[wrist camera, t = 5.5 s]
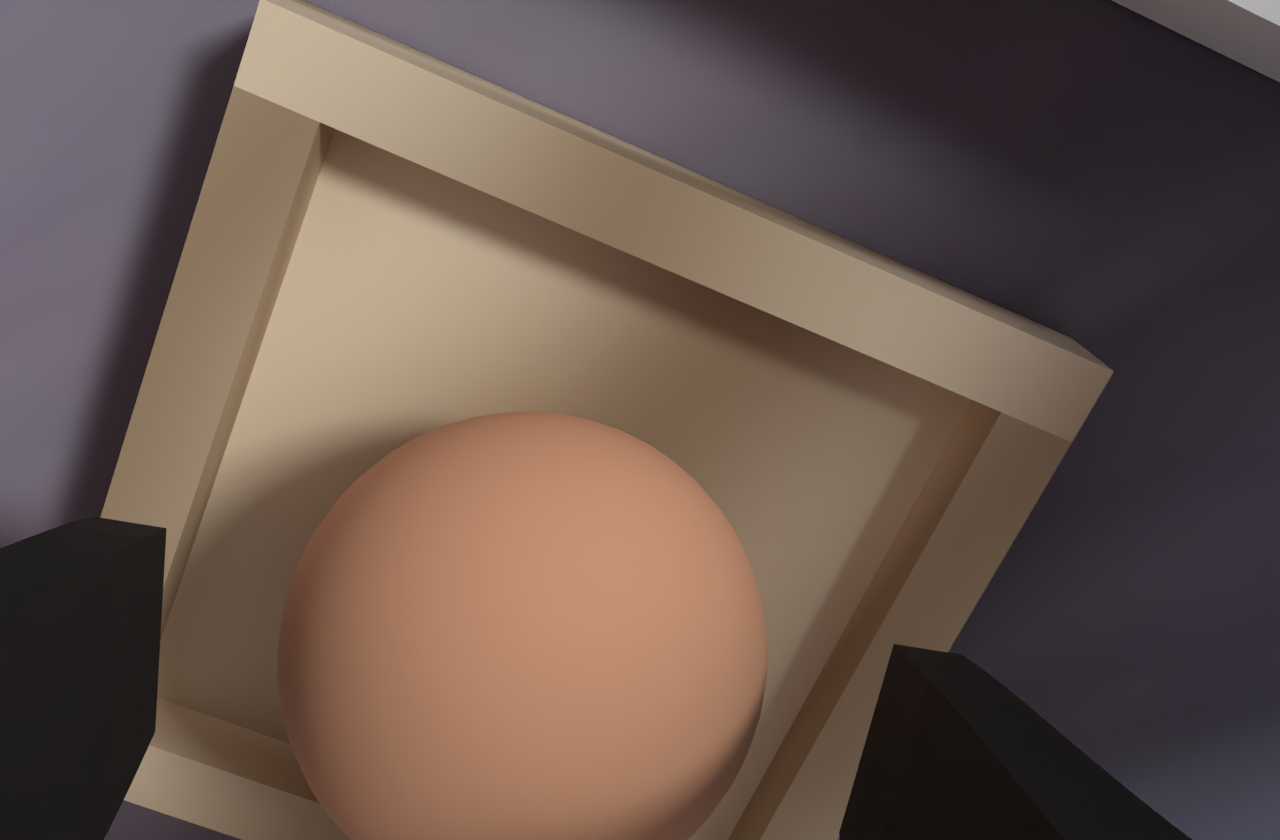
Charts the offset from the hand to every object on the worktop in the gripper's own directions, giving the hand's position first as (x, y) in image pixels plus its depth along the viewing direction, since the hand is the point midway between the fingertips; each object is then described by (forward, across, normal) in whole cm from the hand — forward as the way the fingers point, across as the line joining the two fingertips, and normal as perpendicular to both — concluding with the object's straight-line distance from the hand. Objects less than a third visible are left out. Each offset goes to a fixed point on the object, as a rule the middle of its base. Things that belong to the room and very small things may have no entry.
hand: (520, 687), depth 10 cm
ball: (+3, 0, 0) cm, 3 cm away
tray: (+3, 0, 0) cm, 3 cm away
